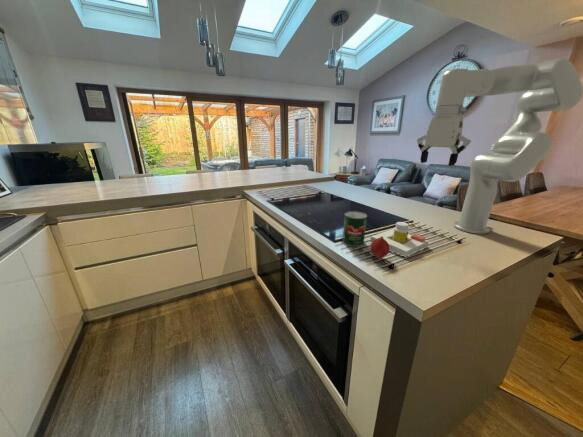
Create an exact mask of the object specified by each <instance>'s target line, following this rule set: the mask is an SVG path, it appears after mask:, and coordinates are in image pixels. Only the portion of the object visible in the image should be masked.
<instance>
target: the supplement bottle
mask: <svg viewBox="0 0 583 437" xmlns="http://www.w3.org/2000/svg"><path fill="white" fill-rule="evenodd" d="M393 229H394V233H393V239H392V240H393V241H396V242H398V243H400V244H404V243H406V241H407V236H408V234H409V224H408V223H407V222H404V221H397V222H396V223H395V227H394V228H393Z"/></svg>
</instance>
